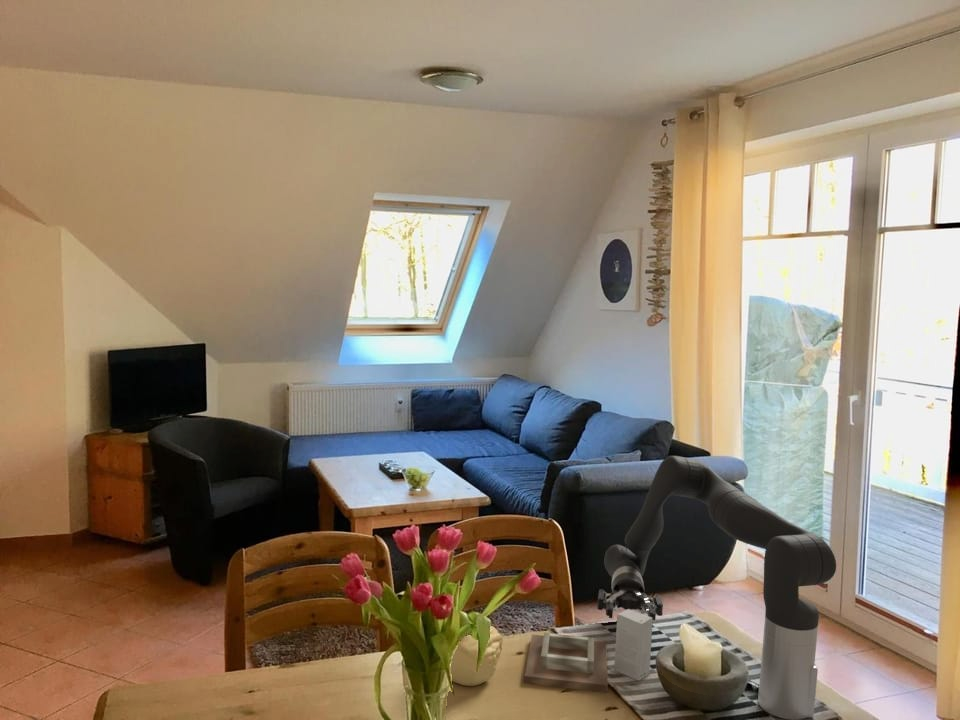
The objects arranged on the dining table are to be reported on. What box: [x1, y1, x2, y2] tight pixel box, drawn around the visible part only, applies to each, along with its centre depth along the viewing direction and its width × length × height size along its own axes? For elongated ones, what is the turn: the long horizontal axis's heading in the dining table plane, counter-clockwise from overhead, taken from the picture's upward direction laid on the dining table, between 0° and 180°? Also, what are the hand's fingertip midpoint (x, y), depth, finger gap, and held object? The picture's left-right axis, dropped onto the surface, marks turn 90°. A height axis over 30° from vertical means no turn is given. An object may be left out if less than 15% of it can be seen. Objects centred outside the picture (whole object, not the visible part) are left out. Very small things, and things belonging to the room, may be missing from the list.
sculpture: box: [451, 625, 504, 687], centre depth 153 cm, size 12×12×11 cm
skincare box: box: [613, 609, 654, 682], centre depth 157 cm, size 6×4×12 cm
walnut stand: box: [524, 632, 609, 693], centre depth 160 cm, size 16×18×4 cm
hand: (631, 616), depth 168 cm, fingers open, 8 cm apart
